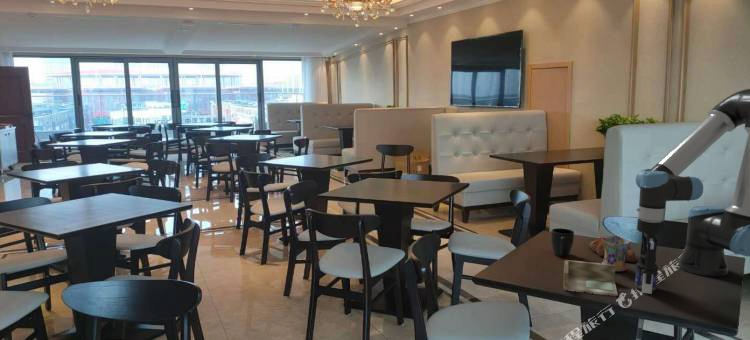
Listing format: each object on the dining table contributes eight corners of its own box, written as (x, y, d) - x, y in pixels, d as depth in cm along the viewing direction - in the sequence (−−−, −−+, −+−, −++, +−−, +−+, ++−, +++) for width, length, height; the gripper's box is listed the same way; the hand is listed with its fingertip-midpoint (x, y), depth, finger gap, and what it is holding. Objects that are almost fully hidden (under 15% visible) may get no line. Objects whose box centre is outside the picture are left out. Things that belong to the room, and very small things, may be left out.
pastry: (587, 258, 205) (588, 238, 204) (588, 247, 219) (589, 228, 218) (635, 264, 199) (637, 243, 197) (633, 252, 213) (635, 233, 211)
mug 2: (629, 274, 187) (631, 245, 185) (600, 271, 190) (602, 242, 188) (626, 264, 198) (628, 236, 196) (599, 261, 201) (600, 234, 199)
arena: (613, 281, 180) (615, 264, 179) (617, 296, 167) (618, 278, 166) (563, 275, 185) (564, 259, 184) (563, 290, 172) (564, 272, 171)
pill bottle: (639, 292, 171) (642, 259, 169) (631, 285, 177) (633, 253, 175) (659, 292, 170) (662, 259, 169) (650, 285, 176) (653, 253, 175)
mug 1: (549, 259, 203) (550, 235, 202) (550, 250, 214) (552, 227, 213) (572, 261, 200) (573, 237, 199) (572, 252, 211) (574, 229, 210)
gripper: (634, 211, 181) (628, 276, 184) (641, 226, 162) (635, 298, 165) (659, 213, 178) (653, 279, 182) (669, 228, 159) (663, 301, 163)
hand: (644, 288), depth 173 cm, fingers open, 7 cm apart
